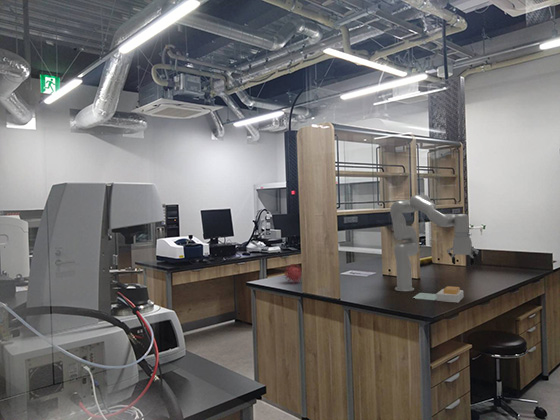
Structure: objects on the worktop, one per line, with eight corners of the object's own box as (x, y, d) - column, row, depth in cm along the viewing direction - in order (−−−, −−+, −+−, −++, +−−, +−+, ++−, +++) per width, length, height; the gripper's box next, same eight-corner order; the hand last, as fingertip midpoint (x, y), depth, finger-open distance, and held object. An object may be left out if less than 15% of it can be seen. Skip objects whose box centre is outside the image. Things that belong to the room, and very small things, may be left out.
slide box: (447, 290, 253) (447, 286, 253) (459, 291, 249) (459, 287, 249) (443, 293, 244) (443, 289, 244) (456, 294, 240) (456, 290, 240)
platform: (442, 295, 257) (442, 288, 257) (463, 297, 250) (463, 290, 250) (436, 300, 244) (436, 293, 244) (458, 302, 237) (458, 295, 237)
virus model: (282, 284, 311) (281, 265, 311) (287, 281, 326) (286, 262, 325) (301, 285, 307) (300, 265, 307) (305, 281, 322) (305, 262, 322)
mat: (419, 293, 265) (419, 292, 265) (441, 295, 258) (441, 294, 258) (412, 298, 252) (412, 297, 252) (434, 300, 244) (434, 299, 244)
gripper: (479, 234, 240) (480, 264, 240) (447, 234, 249) (448, 263, 249) (476, 235, 233) (478, 266, 233) (444, 235, 243) (445, 264, 243)
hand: (463, 264), depth 241 cm, fingers open, 9 cm apart
